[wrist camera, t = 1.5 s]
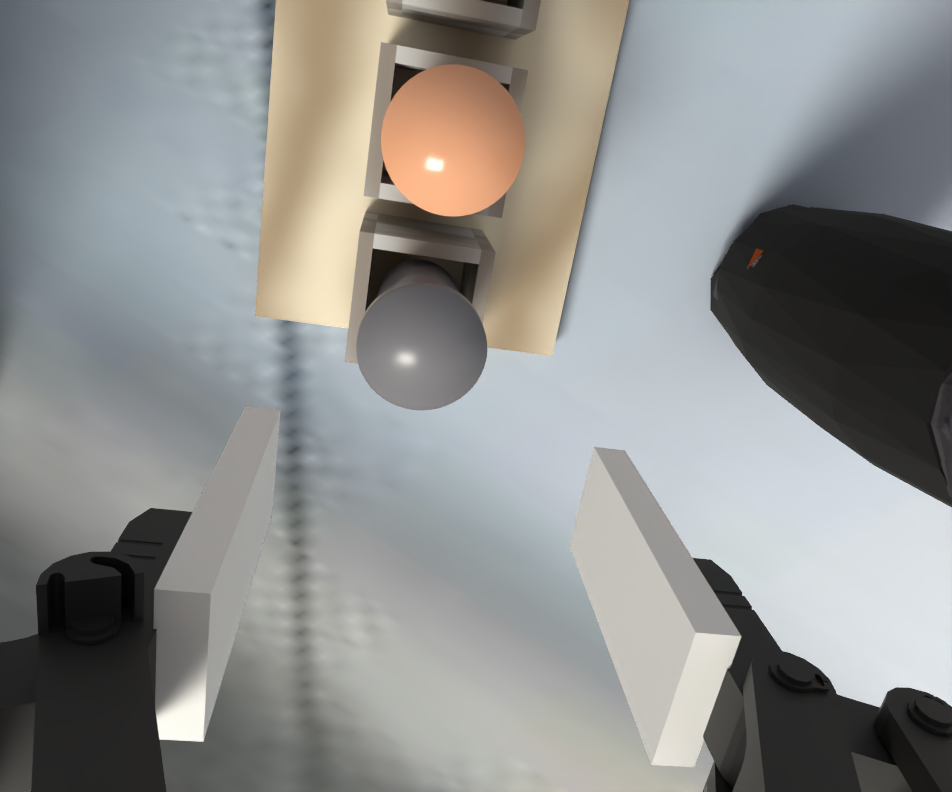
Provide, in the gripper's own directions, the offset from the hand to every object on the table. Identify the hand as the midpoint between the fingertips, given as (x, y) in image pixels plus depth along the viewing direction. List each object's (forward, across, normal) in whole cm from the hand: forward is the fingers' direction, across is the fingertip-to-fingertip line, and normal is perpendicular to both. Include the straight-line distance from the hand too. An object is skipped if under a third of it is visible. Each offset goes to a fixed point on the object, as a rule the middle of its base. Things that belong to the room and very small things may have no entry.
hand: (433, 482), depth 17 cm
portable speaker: (+22, +19, +2) cm, 29 cm away
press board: (+22, 0, +7) cm, 23 cm away
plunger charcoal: (+17, 0, 0) cm, 17 cm away
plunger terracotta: (+17, 0, +7) cm, 18 cm away
